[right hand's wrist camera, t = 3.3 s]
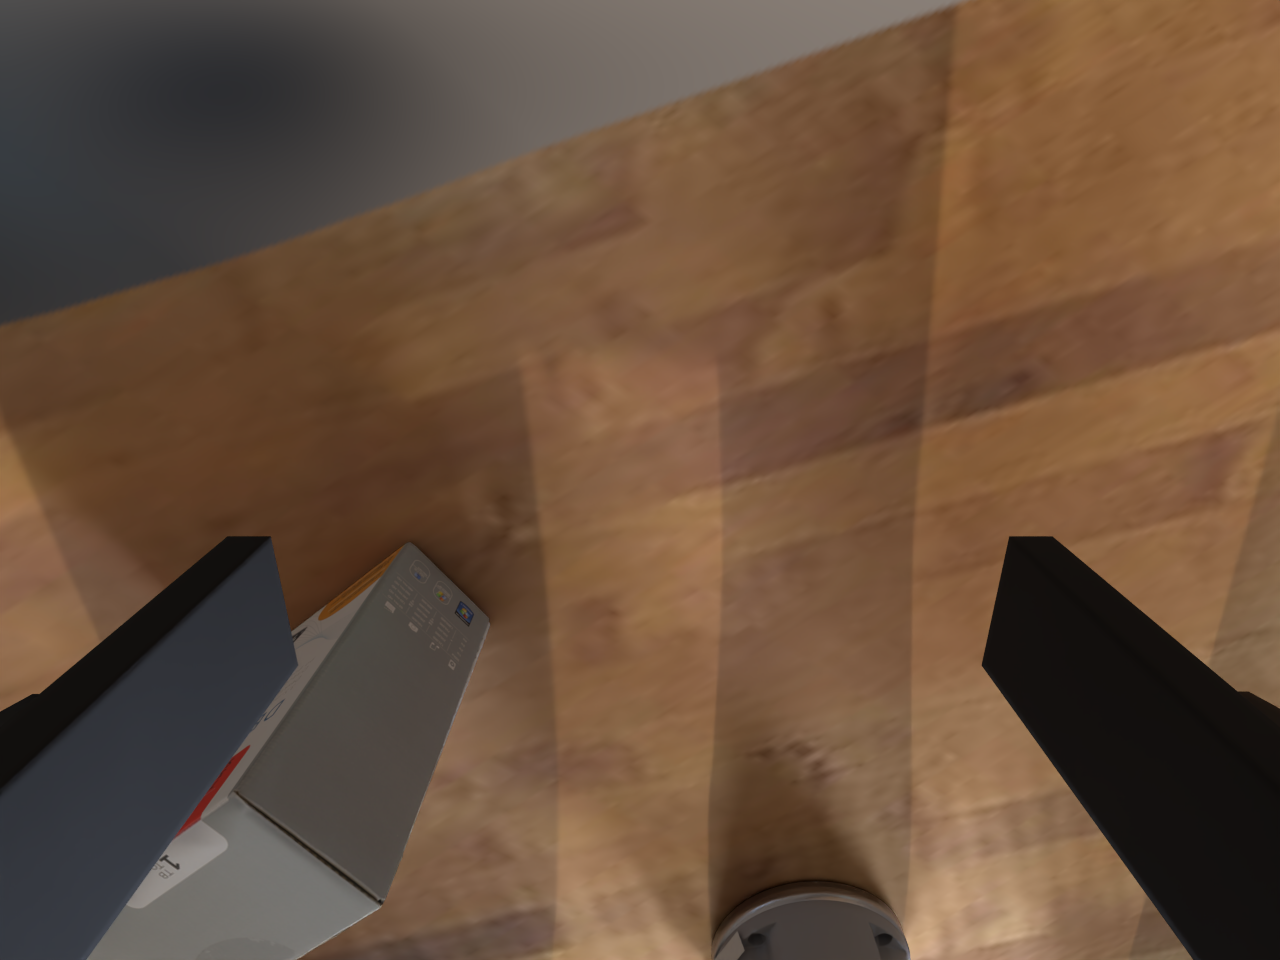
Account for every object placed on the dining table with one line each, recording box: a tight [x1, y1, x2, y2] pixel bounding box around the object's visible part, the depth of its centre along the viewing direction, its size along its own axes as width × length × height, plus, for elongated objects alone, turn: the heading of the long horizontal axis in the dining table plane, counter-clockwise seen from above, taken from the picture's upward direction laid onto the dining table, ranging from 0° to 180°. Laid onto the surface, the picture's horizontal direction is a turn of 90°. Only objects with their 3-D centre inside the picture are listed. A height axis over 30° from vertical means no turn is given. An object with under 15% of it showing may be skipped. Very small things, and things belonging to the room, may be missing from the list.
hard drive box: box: [87, 542, 490, 960], centre depth 37 cm, size 16×8×20 cm, turn 128°
